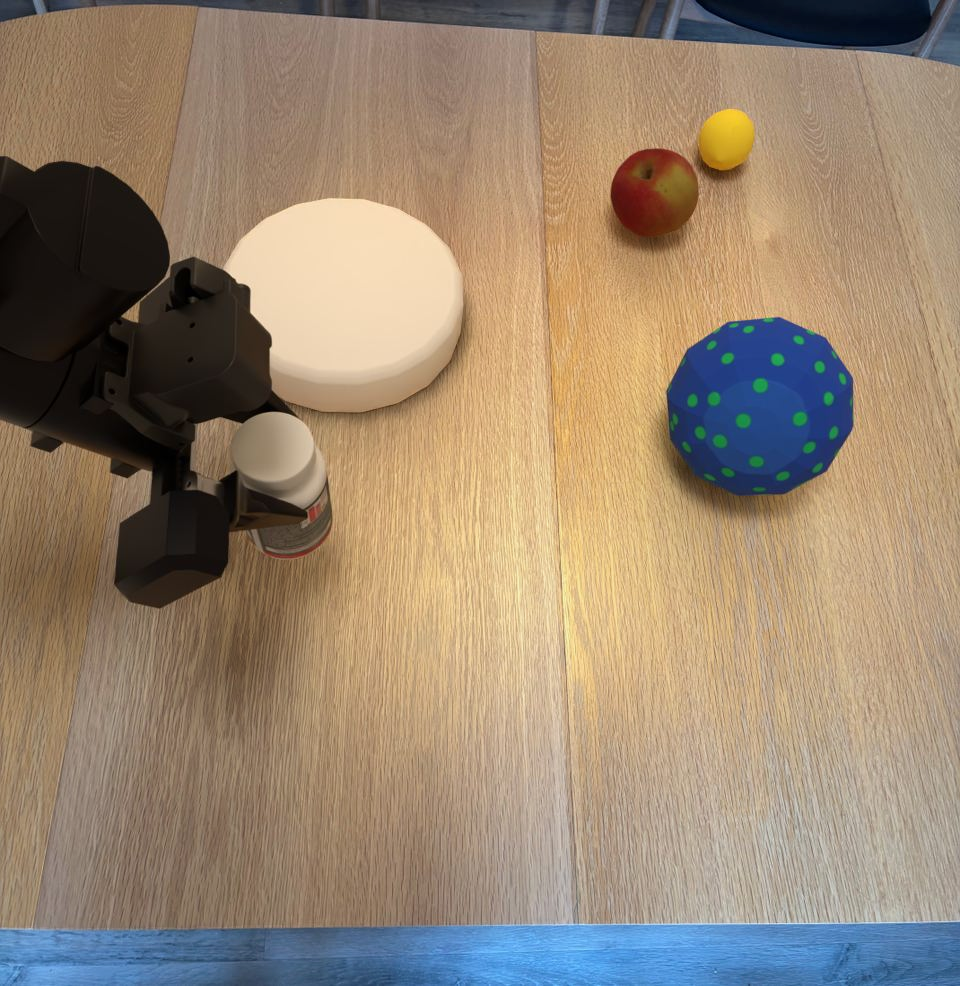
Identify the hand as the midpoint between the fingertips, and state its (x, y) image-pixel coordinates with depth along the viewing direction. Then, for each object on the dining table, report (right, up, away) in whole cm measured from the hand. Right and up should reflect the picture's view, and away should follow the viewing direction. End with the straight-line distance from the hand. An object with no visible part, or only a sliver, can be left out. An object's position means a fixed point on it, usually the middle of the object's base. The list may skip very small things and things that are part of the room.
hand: (302, 474), depth 52 cm
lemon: (+35, +33, +36) cm, 60 cm away
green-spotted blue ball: (+31, +3, +20) cm, 37 cm away
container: (-1, +14, +23) cm, 27 cm away
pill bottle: (-2, -3, +6) cm, 7 cm away
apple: (+26, +24, +31) cm, 48 cm away
